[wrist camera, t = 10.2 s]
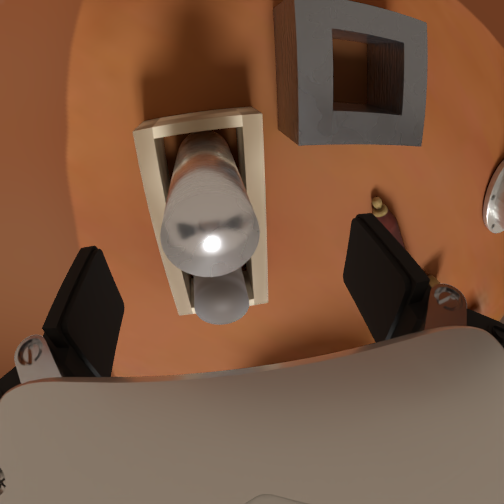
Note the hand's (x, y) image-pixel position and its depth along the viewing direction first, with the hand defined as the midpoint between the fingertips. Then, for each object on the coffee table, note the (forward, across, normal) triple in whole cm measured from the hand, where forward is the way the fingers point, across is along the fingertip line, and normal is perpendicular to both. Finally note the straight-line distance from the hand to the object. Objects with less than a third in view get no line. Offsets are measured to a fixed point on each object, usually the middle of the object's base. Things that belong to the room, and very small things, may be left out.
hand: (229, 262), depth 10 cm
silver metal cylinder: (+14, +1, 0) cm, 14 cm away
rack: (+14, +1, +4) cm, 14 cm away
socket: (+14, -10, -7) cm, 18 cm away
